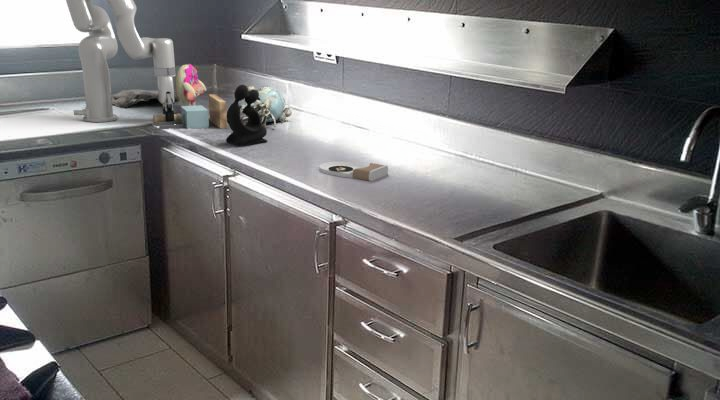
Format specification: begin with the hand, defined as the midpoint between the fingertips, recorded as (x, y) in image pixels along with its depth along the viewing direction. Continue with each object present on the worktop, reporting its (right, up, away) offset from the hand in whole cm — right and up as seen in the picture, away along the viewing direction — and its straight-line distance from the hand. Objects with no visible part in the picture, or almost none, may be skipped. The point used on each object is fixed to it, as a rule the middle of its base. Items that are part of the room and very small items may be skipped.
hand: (168, 119), depth 265 cm
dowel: (-1, -1, +1) cm, 2 cm away
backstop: (+19, -2, +1) cm, 19 cm away
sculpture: (+36, -2, +4) cm, 37 cm away
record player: (+70, -23, -60) cm, 95 cm away
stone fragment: (-20, +11, +40) cm, 46 cm away
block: (+11, -2, -2) cm, 11 cm away
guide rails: (+2, -3, -6) cm, 7 cm away
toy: (+4, +5, +21) cm, 22 cm away
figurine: (+35, -11, -27) cm, 45 cm away
